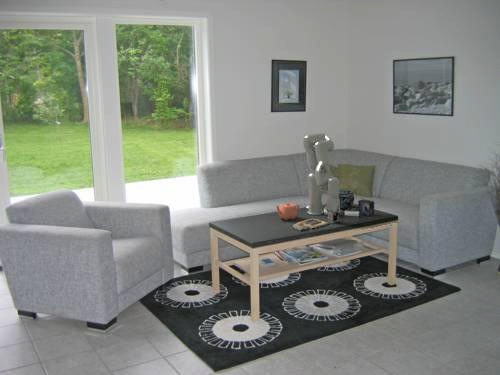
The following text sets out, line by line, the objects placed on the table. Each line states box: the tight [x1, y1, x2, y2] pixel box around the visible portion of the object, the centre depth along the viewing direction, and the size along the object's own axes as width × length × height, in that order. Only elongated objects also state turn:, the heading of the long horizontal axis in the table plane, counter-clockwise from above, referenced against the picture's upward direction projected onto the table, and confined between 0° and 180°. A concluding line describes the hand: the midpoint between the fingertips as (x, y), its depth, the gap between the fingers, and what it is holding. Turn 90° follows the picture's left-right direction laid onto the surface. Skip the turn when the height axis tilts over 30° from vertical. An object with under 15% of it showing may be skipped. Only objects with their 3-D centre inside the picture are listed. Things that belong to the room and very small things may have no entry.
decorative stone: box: [339, 188, 355, 209], centre depth 413 cm, size 16×16×15 cm
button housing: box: [292, 223, 309, 231], centre depth 364 cm, size 7×7×3 cm
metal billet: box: [327, 211, 339, 224], centre depth 377 cm, size 4×6×8 cm
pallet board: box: [295, 217, 330, 230], centre depth 373 cm, size 16×17×2 cm
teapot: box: [275, 202, 300, 221], centre depth 388 cm, size 20×12×12 cm, turn 113°
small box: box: [357, 198, 375, 217], centre depth 393 cm, size 11×6×10 cm, turn 43°
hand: (333, 219), depth 378 cm, fingers closed on metal billet, 4 cm apart
